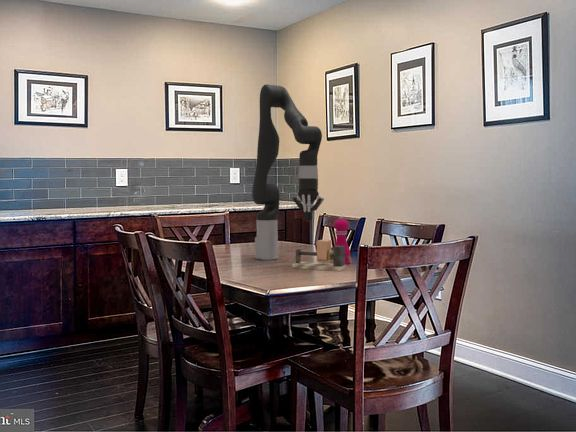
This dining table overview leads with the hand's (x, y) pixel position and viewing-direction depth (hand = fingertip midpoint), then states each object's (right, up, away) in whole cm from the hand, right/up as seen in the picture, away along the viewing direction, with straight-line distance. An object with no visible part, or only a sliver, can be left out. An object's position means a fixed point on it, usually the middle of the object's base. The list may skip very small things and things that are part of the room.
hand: (308, 221), depth 223 cm
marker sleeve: (+6, -15, -2) cm, 17 cm away
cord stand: (+4, -18, -1) cm, 19 cm away
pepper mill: (+14, -18, +11) cm, 25 cm away
